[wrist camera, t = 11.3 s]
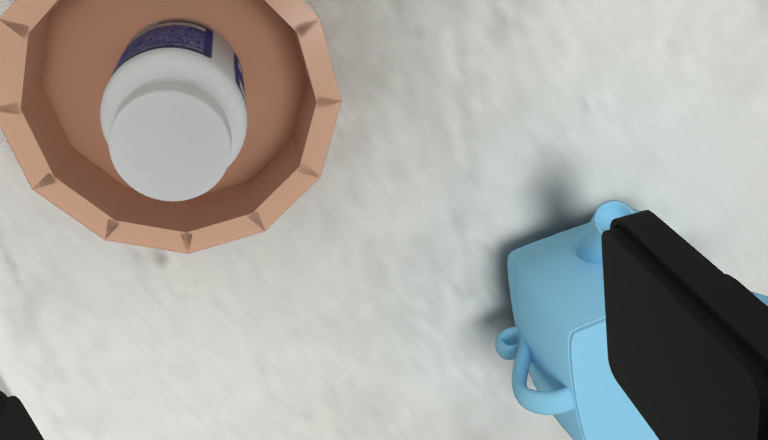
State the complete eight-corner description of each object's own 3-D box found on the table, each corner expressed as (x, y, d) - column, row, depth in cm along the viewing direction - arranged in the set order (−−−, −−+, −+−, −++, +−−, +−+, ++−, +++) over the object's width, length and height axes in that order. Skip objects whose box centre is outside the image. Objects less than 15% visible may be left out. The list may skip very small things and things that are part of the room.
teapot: (440, 190, 38) (506, 290, 29) (686, 106, 38) (826, 178, 29) (502, 431, 46) (568, 565, 37) (703, 358, 47) (815, 473, 38)
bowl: (-34, -33, 29) (-74, -18, 25) (277, -113, 30) (285, -111, 26) (97, 239, 35) (81, 285, 31) (352, 164, 36) (367, 200, 32)
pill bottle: (94, 81, 31) (50, 153, 23) (172, -10, 30) (153, 34, 22) (193, 156, 33) (183, 246, 25) (268, 74, 32) (282, 141, 24)
